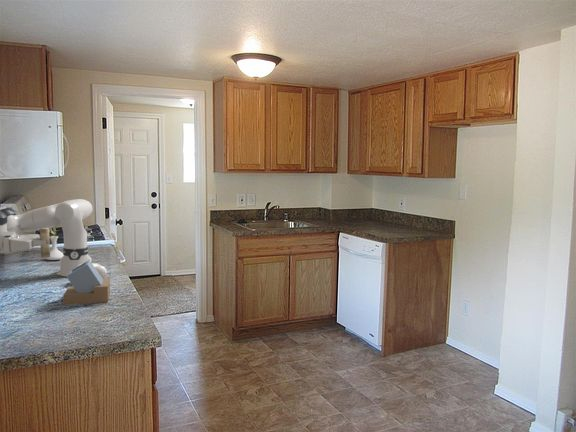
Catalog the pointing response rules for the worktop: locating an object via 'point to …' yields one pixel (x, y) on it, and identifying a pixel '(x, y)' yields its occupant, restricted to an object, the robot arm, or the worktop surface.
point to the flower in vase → (54, 248)
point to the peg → (46, 248)
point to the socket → (86, 286)
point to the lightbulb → (101, 271)
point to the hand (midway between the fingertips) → (47, 241)
